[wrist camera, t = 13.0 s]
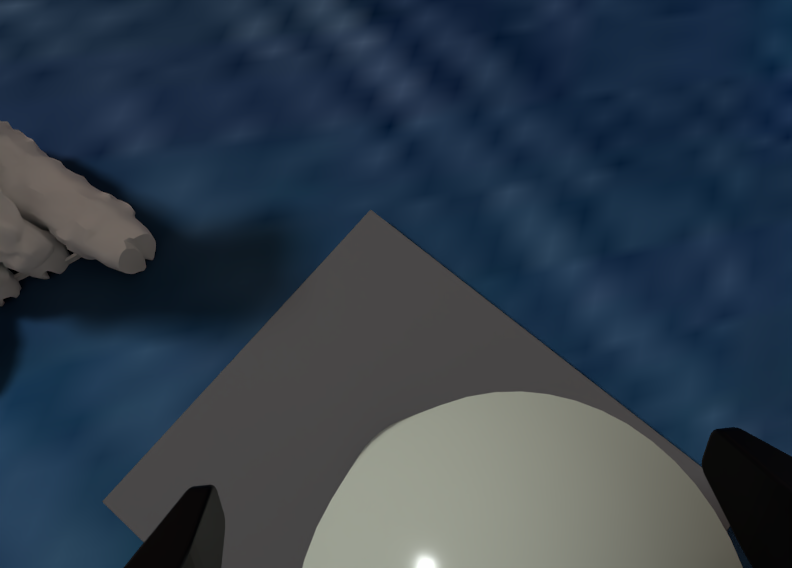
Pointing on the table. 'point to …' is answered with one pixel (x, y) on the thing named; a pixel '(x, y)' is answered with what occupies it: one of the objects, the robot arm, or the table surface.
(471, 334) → the mat
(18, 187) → the sitting furry creature
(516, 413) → the light bulb
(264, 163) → the table surface
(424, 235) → the table surface
